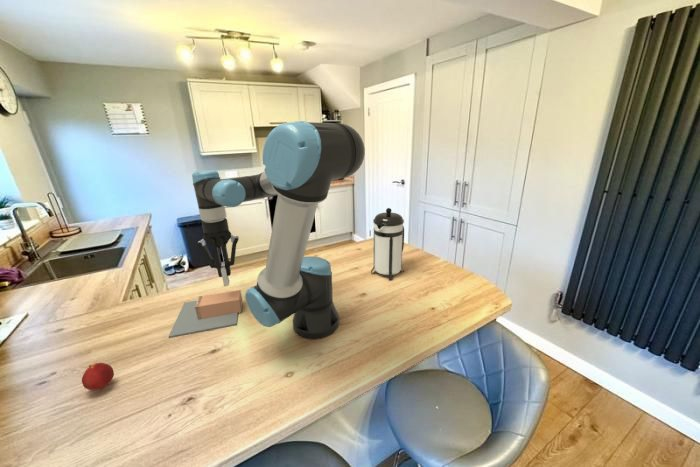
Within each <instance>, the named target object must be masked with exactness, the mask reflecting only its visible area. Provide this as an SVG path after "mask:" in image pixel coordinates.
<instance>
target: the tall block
mask: <svg viewBox="0 0 700 467" xmlns="http://www.w3.org/2000/svg"><path fill="white" fill-rule="evenodd" d="M196 301H197V303H196V305H195V310H196V314H197V319H198V320H199V319H205V318H210V317H216V316H222V315H227V314H233V313H238V314H239V313H242V307H243V298H242V290H241V289H239V290H238V289H236V290H232V291H231V290H230V291H226V292H219V293H213V294H208V295H200V296H198V298H197V300H196Z"/></svg>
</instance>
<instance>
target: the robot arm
mask: <svg viewBox="0 0 700 467" xmlns="http://www.w3.org/2000/svg"><path fill="white" fill-rule="evenodd" d="M365 153H366V148H365V145H364V141H363V138H362V136H361V135H360V133H359V132H358V131H357V130H356V129H354V128H353V127H352V126H350V125H347V124H344V123H341V122H313V121H311V122H308V121H304V120H298V121H294V122H293V121H291V122H290V121H289V122H282V123H281V124H278V125H277V126H276V127H274V128H273V129H272V130H271V131H270V132H269V134H268V135H267V136H266V139H265V141H264V144H263V148H262V164H263V165H264V166H265V167H264V170H263V172H261V173H258V174H254V175H246V176H239V177H230V178H221V176H220V174H219V171H217V170H215V169H207V170H205V169H204V170H197V171H194V172H192V174H191V176H192V186H193V190H194V193H195V198H196V202H197V206H198V213H199V216H200V220H201V226H202V231H203V236H202V239H200V240H198V241H197V243H196V246H197V247H198V248H199V249H200V250H201V252H202V254H203V255H204V258H205V259H206V261H207V263H208V265H209V267H210V268H211V269H216V270H217V275H218V277H219V278H222V281H223V282H222V283H223V287H228V286H230V279H229V276H231V273H232V271H231V266H234V265H235V260H236V251H237V250H236V249H237V245H238V242H239V239H240V236H238V235H236V236H235V235H233V234H232V233H231V231H230V230H229V222H228V219H227V218H226V217H227V213H226V212H227V211H226V208H235V207H238V206H240V205H241V204H242V203H245V202H250V201H253V200H258V199H265V198H272V197H274V196H277V198H276V203H275V210H274V215H273V222H272V228H271V235H270V239H269V246H268V252H267V258H266V264H265V267H264V268H263V269H262V270H261V271H260V272H259V273H258V275H257V280H256V285H255V286H250V287H249V289H247V290H246V292H245V301H246V304H247V306H248V309H249V311H250V312H251V315H252V316H253V317H254V319H255V320H256V321H257V322H258V323H259V324H260V325H261V326H263V327H266V328H271V327H273V326H275V325H278V324H280V323H281V322H282V321H284V320H286V319H288V318H289V317H291V316H292V315H293V317H292V318H293V319H292V328H293V331H294V332H295V334H296V335H297V336H299V337H301V338H303V339H308V340H318V339H323V338H326V337H328V336H330V335H332V334H333V333H335V332H336V331H337V329H338V328H339V325H340V316H339V313H338V310H337V308H336V306H335V304H334V301H333V300H334V298H333V276H332V275H333V272H332V268H331V267H332V265H331V263H330V262H329V261H328V260H327V259H325V258H323V257H320V256H311V255H310V256H309V255H307V256H305V253H306V250H307V245H308V242H309V239H310V234H311V230H312V227H313V224H314V219H315V215H316V213H317V208H318V205H319V203H322V202H324V201H325V200H326V199H327V197H328V194H329V190H330V188H331V185H332V182H333V181H337V180H341V179H346V178H349V177H350V176H352V175H354V174H355V173H356V172H357V171H358V170H360V168H361V167H362V164H363V162H364V160H365V155H366V154H365ZM229 241H231V242H230V243H232V244H231V253H230V258H229V254H228V249H227V248H228V247H227V244H228V243H229ZM207 244H208V245H209V246H210V247H211V248H212V251H213V256H212V254H211V252H210V250H209V248H208V246H207ZM219 248H220V249H221V253H222V254H220V251H219ZM220 255H222V258H223V264H224V265H222V261H221V256H220ZM213 257H214V258H213ZM229 259H230V260H229Z"/></svg>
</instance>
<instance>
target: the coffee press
mask: <svg viewBox="0 0 700 467" xmlns="http://www.w3.org/2000/svg"><path fill="white" fill-rule="evenodd" d="M392 211H393V210H392V209H391V208H390V207H387V208H386V210H385V212H380V213H378V214H376V215H375V217H374V219H373V267H372V269H371V270H370V273H371V275H373V274H372V273H373V272H374V274H376V273H378V274H381V275H384V276H387V277H388V280H389V281H393V275H396V274H399V273H401V271H403V273H404V272H405V270H404V268H403V267H402V266H403V251H404V246H405V227H404V223H405V220H404V218H403V216H402V215H401V214H399V213H397V212H392Z"/></svg>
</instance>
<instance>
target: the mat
mask: <svg viewBox="0 0 700 467" xmlns="http://www.w3.org/2000/svg"><path fill="white" fill-rule="evenodd" d="M196 303H197V300H193V301H185V302H184V303H183V304H182V307H181V309H180V311H179V313H178V315H177V318H176V319H175V322H174V324H173V326H172V327H171V330H170V332H169V334H168V339H170V338H177V337H182V336H186V335H191V334H197V333H201V332H203V333H204V332H207V331H213V330H218V329H223V328H229V327H233V326H237V323H238V317H239V312H238V313H233V314H227V315H222V316H216V317H210V318H205V319H199V320H198V319H197V314H196V310H195V305H196Z"/></svg>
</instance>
